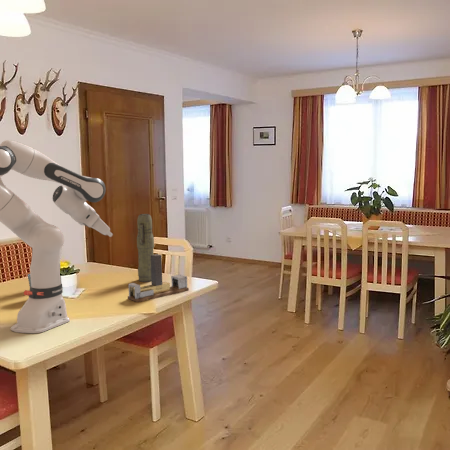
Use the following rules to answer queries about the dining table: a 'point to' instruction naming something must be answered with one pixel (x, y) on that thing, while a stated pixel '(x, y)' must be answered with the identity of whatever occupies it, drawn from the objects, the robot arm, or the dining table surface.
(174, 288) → the rail board
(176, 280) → the sleeve and socket
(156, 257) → the blocks on base plate
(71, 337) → the dining table surface
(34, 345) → the dining table surface
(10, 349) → the dining table surface
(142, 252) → the grey stone statue
